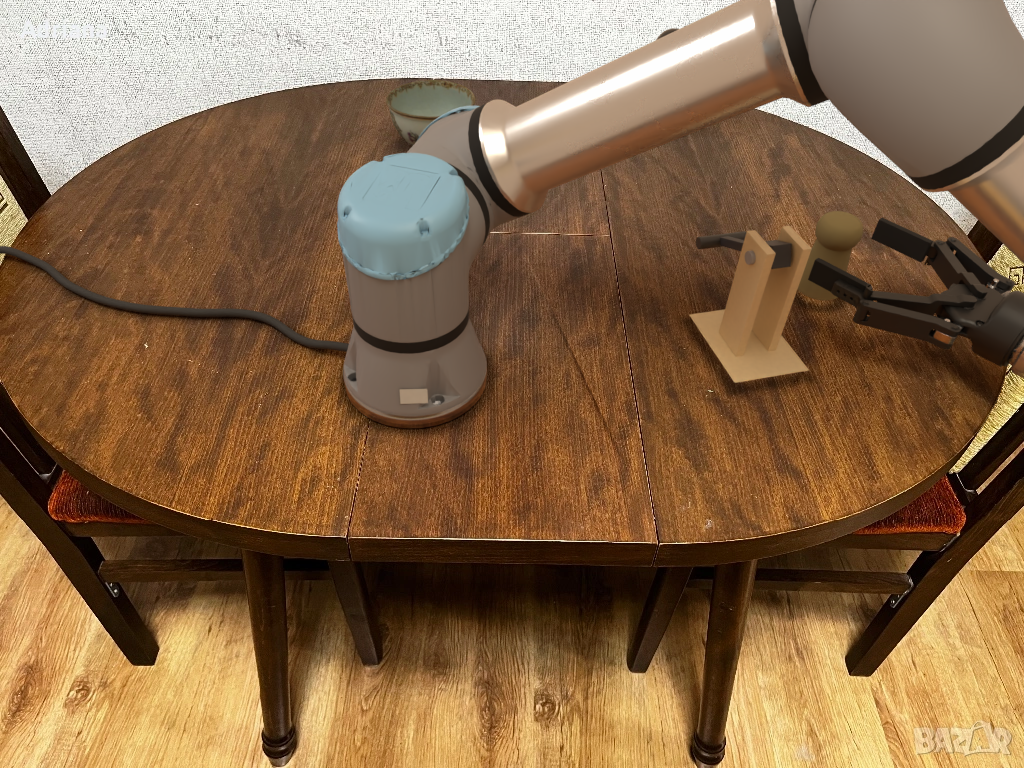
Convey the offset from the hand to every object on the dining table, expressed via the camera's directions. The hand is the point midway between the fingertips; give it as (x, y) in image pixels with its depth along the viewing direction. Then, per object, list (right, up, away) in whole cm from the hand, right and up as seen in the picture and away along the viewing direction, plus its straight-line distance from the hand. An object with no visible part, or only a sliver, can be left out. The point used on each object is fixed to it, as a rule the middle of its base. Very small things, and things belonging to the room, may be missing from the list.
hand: (845, 247), depth 90 cm
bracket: (-12, -12, -2) cm, 17 cm away
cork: (-1, -5, +6) cm, 8 cm away
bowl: (-52, +22, +32) cm, 65 cm away
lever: (-13, -2, -6) cm, 15 cm away
